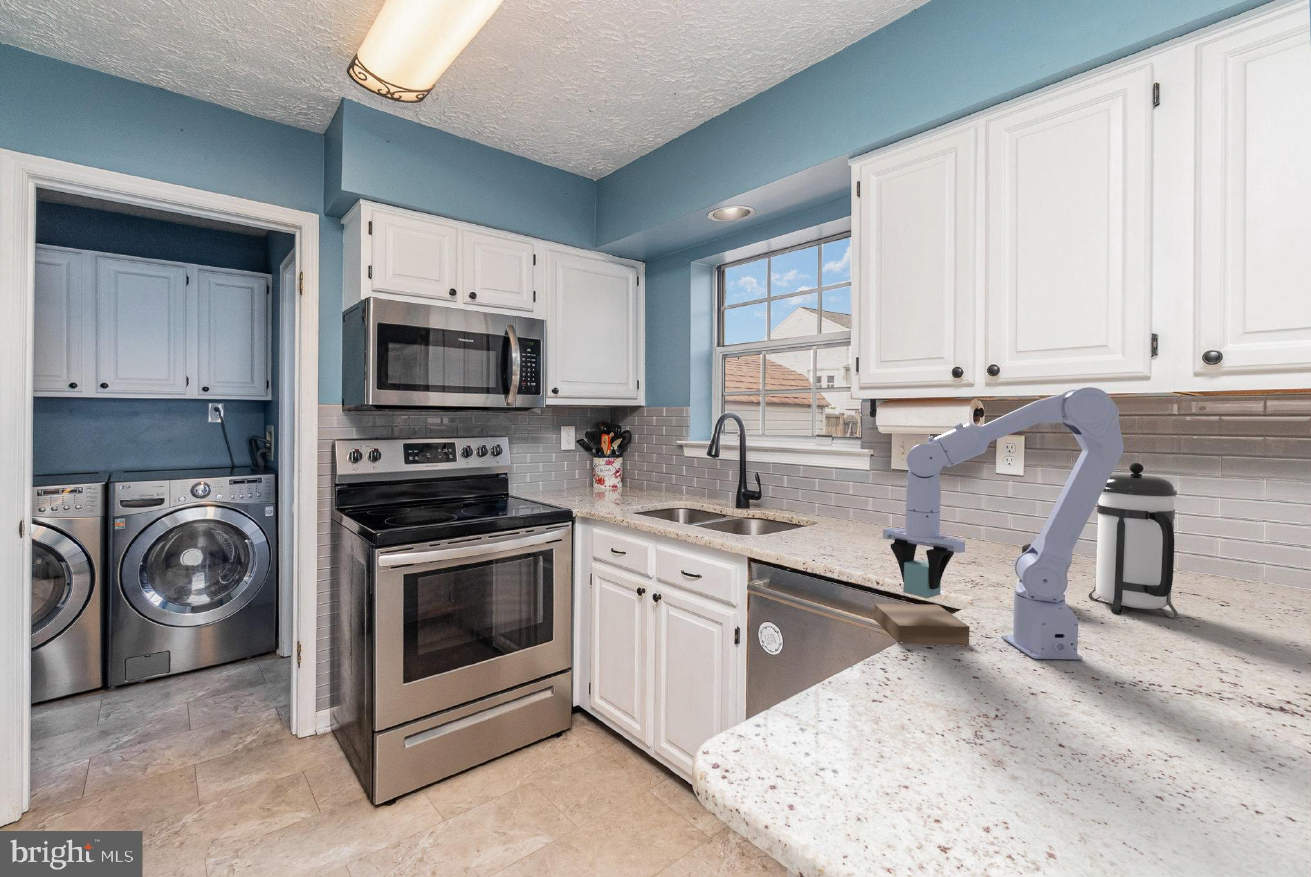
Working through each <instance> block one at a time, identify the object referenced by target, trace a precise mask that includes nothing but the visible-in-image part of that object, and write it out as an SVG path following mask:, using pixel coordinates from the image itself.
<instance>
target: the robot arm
mask: <svg viewBox="0 0 1311 877" xmlns="http://www.w3.org/2000/svg"><path fill="white" fill-rule="evenodd" d="M1119 416H1120V408H1119V407H1118V406H1117V405H1116V403H1115V401H1113V399H1112V398H1111V396H1110V395H1109V394H1108V393H1107V392H1105V391H1104V390H1102V389H1100V388H1098V387H1090V386H1087V387H1081V388H1078V389H1071V390H1067V391H1065V392H1062V393H1061V394H1056V395H1052V396H1048V397H1045V398H1042V399H1041V398H1040V399H1037V400H1035V401H1031V402H1030V403H1028V404H1026V405H1023V406H1021V407H1020V408H1017V409H1015V410H1013V411H1011V412H1009V413H1007V414H1004V415H1002V416H1000V417H997V418H995V419H994V420H991V421H989V422H987V423H985V424H983V425H977V424H974V423H972V422H968V423H965V424H963V423H962V422H960V423H957V424H955V425H953V427H954V429H952V430H949V431H947V432H944V433H943V434H941V435H937V436H935V437H934V436H933V435H931V436H929V437H927V442H929V443H919V444H916V445H914V446H913V447H911V449H909V452H908V454H907V456H906V464H907V467H908V473H907V475H906V480H907V482H906V485H905V486H906V487H905V488H906V489H905V519H904V526H905V528H904V529H903V528H893V527H885V528H883V529H882V539H884V540H893V541H894V542H892V543H890V549H891V550H892V553H893V554H894V557H895V558H896V561H897V563H898V567H899V571H900V574H901V577H902V578H901V579H902V582H903V583H904V562H909V561H913V560H915V556H916V551H917V546H918V545H919V546H924V547H929V548H931V549H926V550H925V553H926V558H927V562H928V564H929V588H930V589H937V588H939V585H940V581H941V582H942V577H943V575H944V573H945V572H944V571H945V570H946V568H947V566H948V564H949V562H950V560H951V558H952V557H953V556H954V555H955V553H956V554H961V553H965V551H966V540H962V539H958V538H955V537H950V536H946V535H943V534H940V531H941V528H940V527H941V502H942V501H941V498H942V497H941V495H942V492H941V490H942V489H941V488H942V486H941V485H940V479H941V478H940V476H941V475H940V474H941V473H940V472H941V471H942V469H943V467H948V468H950V467H954V466H955V465H957V464H960V463H963V462H965V461H967V460H970V459H973V458H975V457H978V456H980V455H982V454H984V453H986V451H987V449H988V446H989V444H990V442H993V441H996V440H999V439H1001V438H1004V437H1007V436H1009V435H1012V434H1014V433H1016V432H1019V431H1021V430H1026V429H1027V428H1029V427H1033V426H1035V425H1038V424H1062V425H1063V426H1064V427H1065V428H1067V429H1068V430H1069V431H1070V432H1071V433H1072V434H1073V436H1074V438H1075V439H1076V442H1077V443H1078V445H1079V446H1080V448H1081V453H1080V454H1079V456H1078V458H1077V461H1076V462H1075V464H1074V466H1073V469H1072V470H1071V473H1070V475H1069V476H1068V478H1067V480H1066V483H1065V484H1064V486H1063V488H1062V490H1061V492H1060V494H1059V496H1058V498H1057V501H1056V502H1055V504H1054V506H1053V508H1052V509H1051V512H1050V513H1049V515H1048V517H1047V520H1046V522H1045V524H1044V526H1043V528H1042V529H1041V532H1040V534H1039V535H1038V536H1037V537H1036V538H1035V539H1033V541H1032V542H1031V543H1030V544H1031V546H1030V548H1029V549H1028V550H1027V551H1026V552H1024V553H1023V554H1022V553H1020V555H1019V556H1018V557H1017V558H1016V559H1015V563H1014V571H1015V574H1016V577H1017V576H1018V578H1019V579H1020V580H1021V582H1020V583H1019V585H1018V586H1017V585H1016V587H1015V588H1014V589H1013V590H1014V594H1013V595H1014V596H1013V597H1014V598H1013V625H1012V627H1013V628H1012V634H1002V635H1001V638H1002V639H1003V640H1005V641H1006V642H1008V643H1009V644H1011V645H1012V646H1013V647H1015V648H1016V649H1018V650H1020V651H1021V652H1022V653H1024V654H1026V655H1027V656H1029V657H1030V658H1031V659H1035V660H1083V656H1082V654H1081V655H1080V654H1079V653H1078V644H1079V641H1078V640H1079V639H1078V638H1079V620H1078V616H1077V615H1076V613H1075V612H1074V611H1073V610H1072V609H1070V608H1069V607H1068V605H1067V604H1066V594H1064V593H1065V592H1066V590H1067V588H1068V583H1069V579H1068V572H1069V569H1070V567H1071V565H1072V560H1073V550H1074V548H1075V546H1076V544H1077V543H1078V542H1077V541H1078V540H1079V538H1080V536H1081V535H1082V532H1083V530H1084V529H1085V526H1086V524H1087V523H1088V521H1089V518H1090V517H1091V514H1092V513H1093V511H1094V510H1095V507H1096V506H1097V503H1098V502H1099V498H1100V496H1101V494H1102V492H1103V490H1104V488H1105V486H1106V484H1107V482H1108V480H1109V478H1110V476H1111V475H1113V473H1114V470H1115V468H1116V467H1117V465H1118V463H1119V460H1120V458H1121V457H1122V455H1123V451H1124V446H1125V445H1124V440H1123V436H1122V432H1121V426H1120V420H1119V418H1120V417H1119Z"/></svg>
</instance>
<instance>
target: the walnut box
mask: <svg viewBox="0 0 1311 877" xmlns="http://www.w3.org/2000/svg"><path fill="white" fill-rule="evenodd" d="M873 612H874V614H873V615H874V618H873V619H874V621H875V622H876V623H877V624H878V625H879V626H880V627H881V628H882V629H883V630H884V631H885V632H886V633H887V634H888V635H889V636H890V637H892V639H894V641H895V642H897V643H898V644H901V643H900V642H903V643H902V644H918V645H919V644H920V645H921V644H922V645H924V644H925V645H926V644H927V645H928V644H930V645H934V644H935V645H970V625H968V624H967V623H965V622H964V621H962V620H960V619H959V618H958V617H956V616H955V615H953V614H952V613H951V612H949V611H947V610H946V609H945V608H943V607H942V606H940V605H939V604H915V603H913V604H911V603H910V604H907V603H905V604H904V603H874V611H873Z"/></svg>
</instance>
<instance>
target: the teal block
mask: <svg viewBox="0 0 1311 877" xmlns="http://www.w3.org/2000/svg"><path fill="white" fill-rule="evenodd" d="M941 583H942V580H941V581H940V585H939V588H937V589H930V588H929V564H928V560H921V559H914V560H913V561H909V562H904V582H903V588H902V589H903V591H902V592H903V593H905V594H908V595H912V596H915V597H919V598H923V599H930V598H933V597H936V596H940V595H941V588H942V586H941V585H942V584H941Z"/></svg>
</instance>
